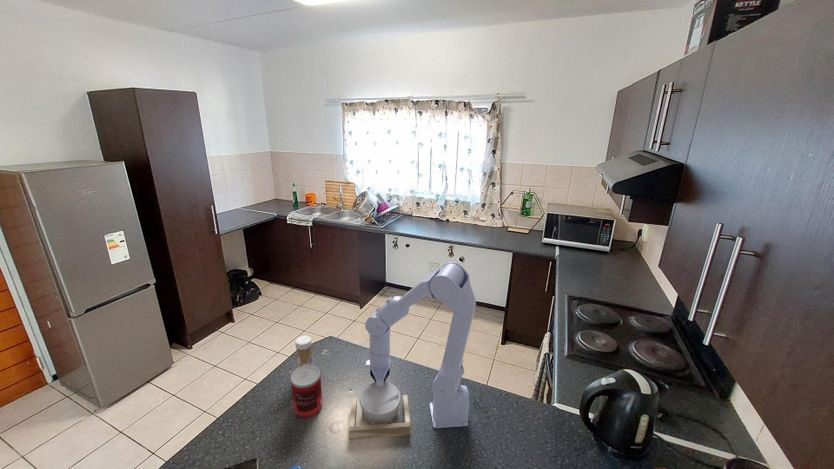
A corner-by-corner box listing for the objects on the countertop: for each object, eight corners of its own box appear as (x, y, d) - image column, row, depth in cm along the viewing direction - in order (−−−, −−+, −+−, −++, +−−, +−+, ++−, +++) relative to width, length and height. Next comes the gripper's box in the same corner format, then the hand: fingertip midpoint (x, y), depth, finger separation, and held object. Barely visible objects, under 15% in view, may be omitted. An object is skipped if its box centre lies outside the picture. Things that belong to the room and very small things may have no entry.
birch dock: (352, 406, 90) (352, 398, 89) (407, 402, 92) (407, 394, 91) (349, 439, 81) (349, 430, 80) (410, 435, 83) (410, 426, 82)
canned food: (312, 391, 95) (309, 360, 92) (328, 405, 90) (326, 374, 87) (288, 407, 89) (284, 375, 86) (304, 423, 85) (300, 390, 81)
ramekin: (389, 435, 82) (389, 419, 81) (352, 420, 86) (351, 405, 84) (406, 402, 92) (406, 388, 91) (372, 390, 96) (371, 376, 94)
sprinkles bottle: (310, 381, 99) (307, 345, 94) (296, 380, 99) (292, 343, 95) (316, 370, 103) (313, 335, 99) (302, 369, 103) (298, 334, 99)
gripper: (366, 334, 98) (367, 370, 102) (364, 368, 84) (365, 408, 88) (389, 333, 98) (389, 369, 103) (391, 366, 85) (391, 406, 89)
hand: (380, 387), depth 96 cm, fingers closed
